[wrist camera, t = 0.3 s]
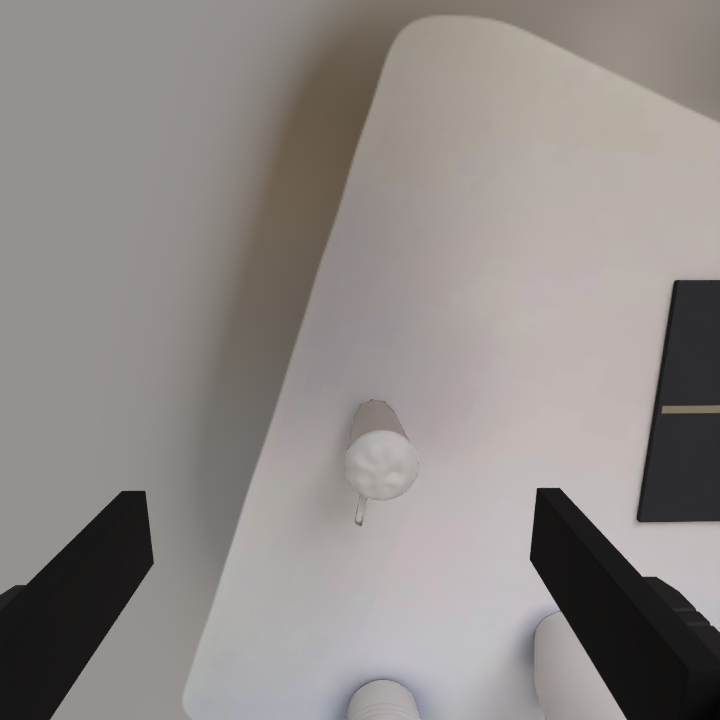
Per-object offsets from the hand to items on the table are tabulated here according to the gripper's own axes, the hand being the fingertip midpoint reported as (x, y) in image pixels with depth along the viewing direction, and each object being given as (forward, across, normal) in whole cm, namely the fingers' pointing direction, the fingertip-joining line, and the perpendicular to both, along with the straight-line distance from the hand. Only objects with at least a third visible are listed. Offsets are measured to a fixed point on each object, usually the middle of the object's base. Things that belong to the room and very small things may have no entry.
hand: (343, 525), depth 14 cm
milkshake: (+19, +2, -4) cm, 20 cm away
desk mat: (+19, +31, -2) cm, 36 cm away
